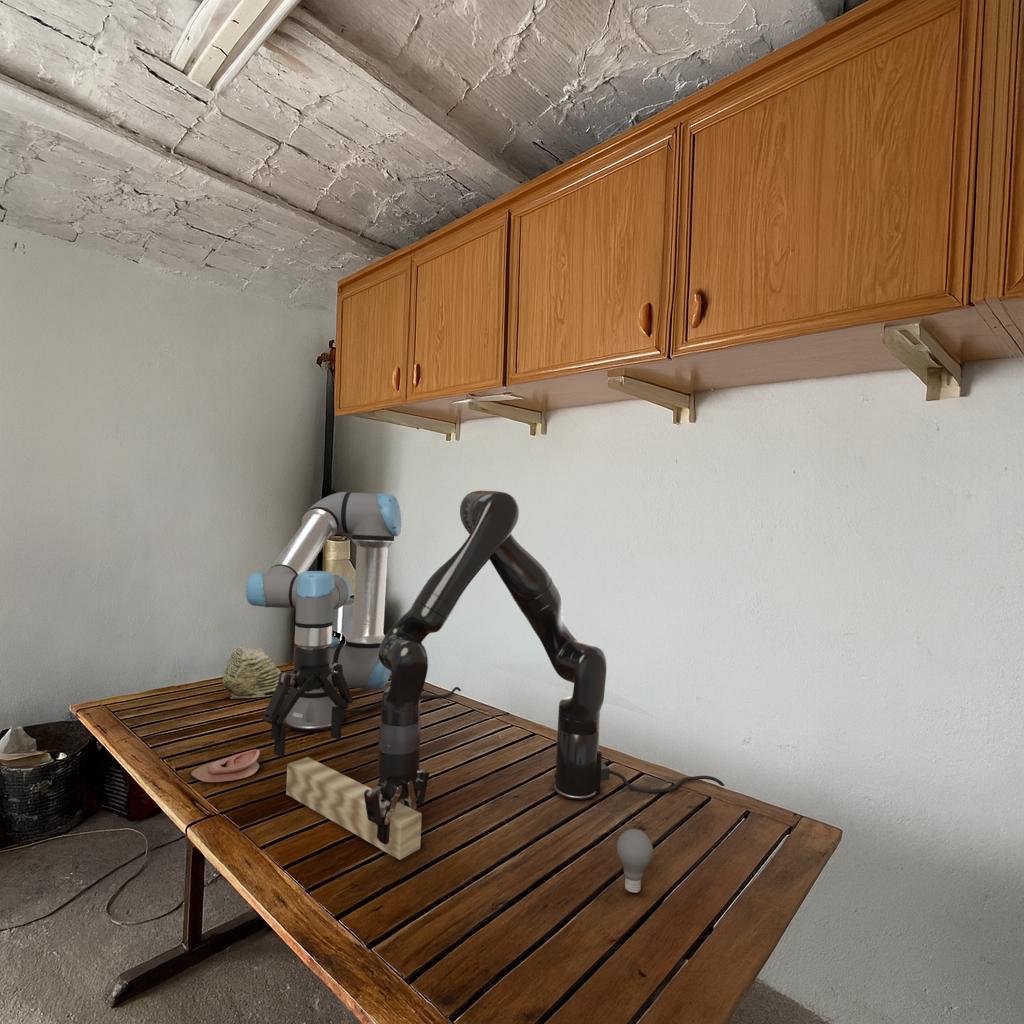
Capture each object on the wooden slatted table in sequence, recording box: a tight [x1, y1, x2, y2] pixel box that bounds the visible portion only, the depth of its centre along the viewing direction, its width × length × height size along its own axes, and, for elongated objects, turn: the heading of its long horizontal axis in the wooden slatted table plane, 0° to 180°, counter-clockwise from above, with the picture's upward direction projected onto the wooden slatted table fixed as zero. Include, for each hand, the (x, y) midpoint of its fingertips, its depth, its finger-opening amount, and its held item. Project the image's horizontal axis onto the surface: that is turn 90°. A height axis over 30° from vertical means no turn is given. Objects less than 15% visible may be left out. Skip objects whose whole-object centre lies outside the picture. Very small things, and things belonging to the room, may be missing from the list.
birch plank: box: [285, 756, 423, 861], centre depth 125 cm, size 36×5×6 cm, turn 51°
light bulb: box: [615, 828, 654, 894], centre depth 106 cm, size 6×6×10 cm
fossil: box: [222, 646, 281, 699], centre depth 198 cm, size 9×18×15 cm, turn 132°
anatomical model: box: [190, 748, 261, 783], centre depth 143 cm, size 13×4×12 cm
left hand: (308, 746), depth 133 cm, fingers open, 13 cm apart
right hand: (395, 835), depth 116 cm, fingers closed on birch plank, 5 cm apart
